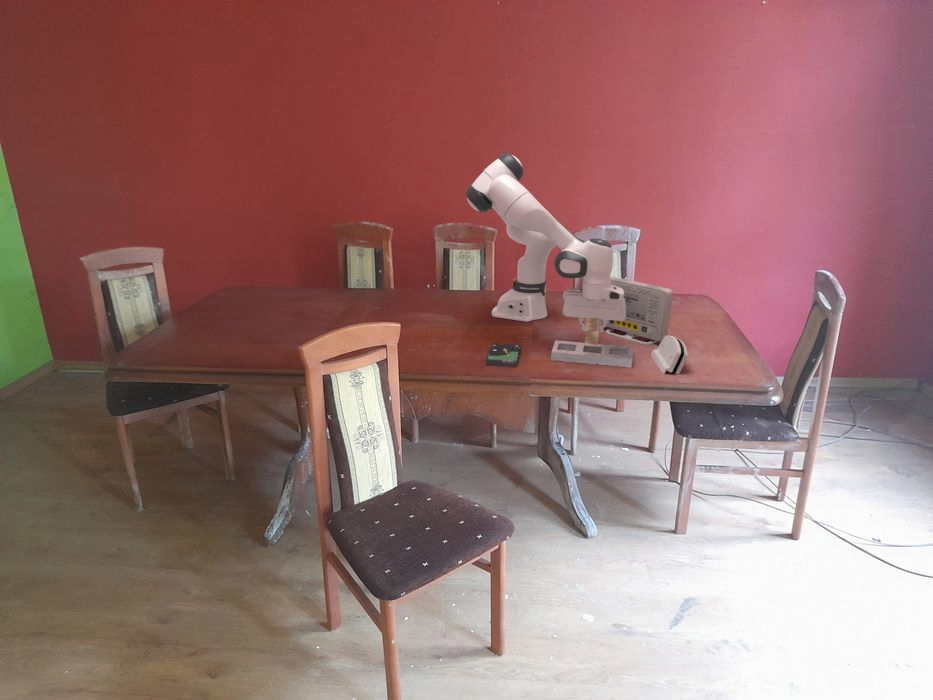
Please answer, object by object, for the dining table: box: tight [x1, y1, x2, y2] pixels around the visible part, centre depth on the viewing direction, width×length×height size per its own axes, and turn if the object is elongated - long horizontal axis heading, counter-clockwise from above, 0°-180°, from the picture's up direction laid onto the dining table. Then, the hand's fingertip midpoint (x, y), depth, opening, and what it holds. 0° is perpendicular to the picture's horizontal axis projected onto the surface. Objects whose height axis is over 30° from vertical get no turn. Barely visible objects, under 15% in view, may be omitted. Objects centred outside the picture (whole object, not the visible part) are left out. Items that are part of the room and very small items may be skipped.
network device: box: [600, 276, 674, 346], centre depth 216 cm, size 26×9×20 cm, turn 44°
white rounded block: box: [650, 335, 689, 375], centre depth 194 cm, size 17×5×10 cm, turn 177°
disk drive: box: [485, 342, 522, 368], centre depth 201 cm, size 10×3×15 cm
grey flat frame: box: [550, 339, 634, 369], centre depth 200 cm, size 26×11×3 cm, turn 76°
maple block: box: [584, 318, 601, 345], centre depth 197 cm, size 4×4×9 cm
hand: (592, 330), depth 197 cm, fingers closed on maple block, 4 cm apart
